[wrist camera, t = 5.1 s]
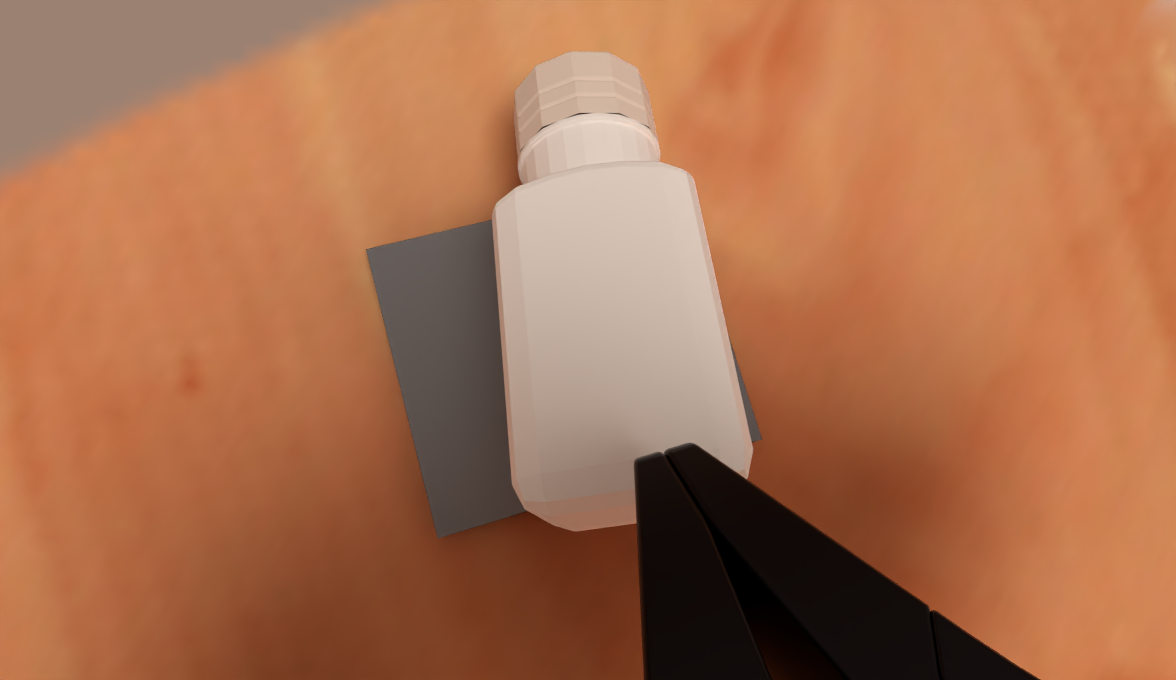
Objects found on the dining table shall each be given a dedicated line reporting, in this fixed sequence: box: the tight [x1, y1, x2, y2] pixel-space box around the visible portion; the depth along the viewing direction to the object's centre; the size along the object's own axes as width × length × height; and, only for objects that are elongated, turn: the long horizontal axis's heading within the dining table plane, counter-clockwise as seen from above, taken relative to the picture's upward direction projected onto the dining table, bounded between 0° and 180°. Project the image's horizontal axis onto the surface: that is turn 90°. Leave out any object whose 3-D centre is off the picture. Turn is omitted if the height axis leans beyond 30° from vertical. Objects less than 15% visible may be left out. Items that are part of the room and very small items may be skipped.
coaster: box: [366, 220, 762, 538], centre depth 16 cm, size 7×8×1 cm
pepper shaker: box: [492, 51, 753, 532], centre depth 14 cm, size 4×4×10 cm
